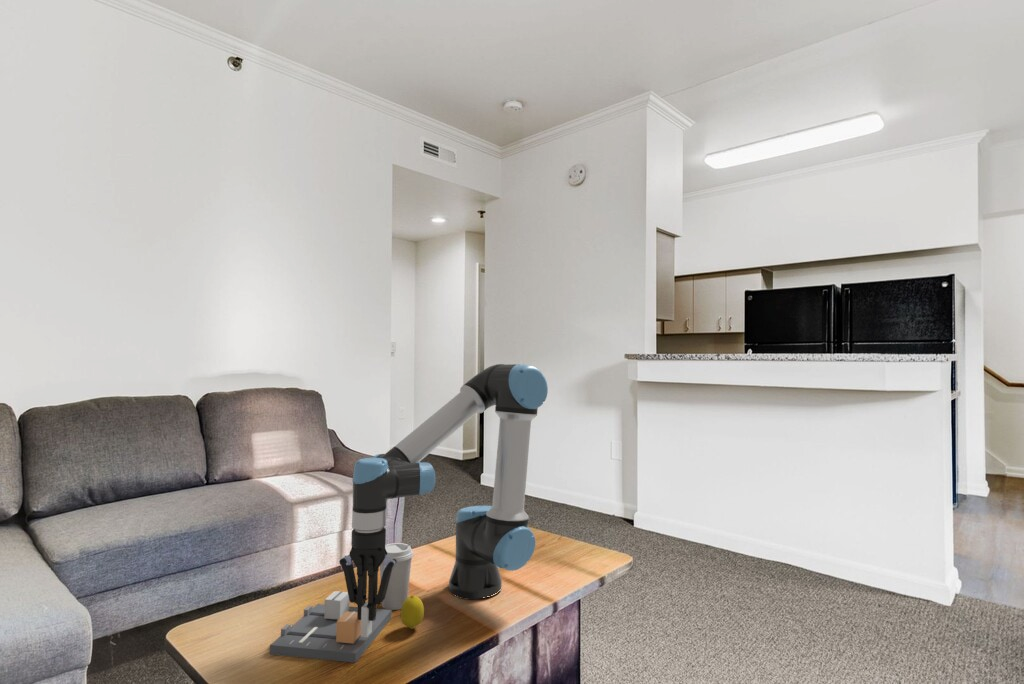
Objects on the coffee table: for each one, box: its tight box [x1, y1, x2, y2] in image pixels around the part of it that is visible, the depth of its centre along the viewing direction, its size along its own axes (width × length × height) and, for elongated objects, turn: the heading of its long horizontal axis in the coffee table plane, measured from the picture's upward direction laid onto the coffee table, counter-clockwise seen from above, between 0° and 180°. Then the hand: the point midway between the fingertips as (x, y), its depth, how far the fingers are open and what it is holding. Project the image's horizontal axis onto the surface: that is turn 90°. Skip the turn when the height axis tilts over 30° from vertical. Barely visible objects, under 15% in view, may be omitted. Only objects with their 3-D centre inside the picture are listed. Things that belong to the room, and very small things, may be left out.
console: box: [269, 603, 393, 664], centre depth 130 cm, size 20×21×3 cm
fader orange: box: [336, 611, 361, 644], centre depth 124 cm, size 4×5×5 cm
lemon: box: [400, 594, 425, 630], centre depth 133 cm, size 6×6×8 cm
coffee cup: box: [379, 542, 414, 611], centre depth 146 cm, size 10×10×15 cm
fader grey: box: [324, 590, 350, 620], centre depth 135 cm, size 4×5×5 cm
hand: (366, 634), depth 123 cm, fingers closed
